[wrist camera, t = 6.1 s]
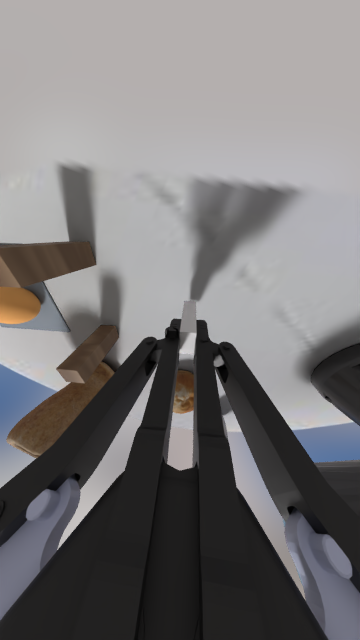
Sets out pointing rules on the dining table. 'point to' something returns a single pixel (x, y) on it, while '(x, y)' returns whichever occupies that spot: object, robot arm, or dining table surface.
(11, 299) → the ball
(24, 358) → the dining table surface
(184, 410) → the bread roll
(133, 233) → the dining table surface
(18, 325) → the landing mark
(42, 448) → the brown boot
